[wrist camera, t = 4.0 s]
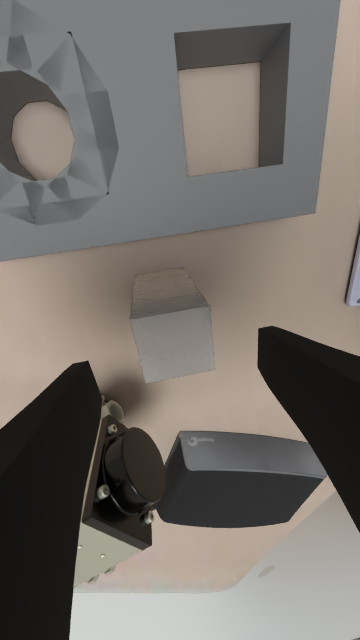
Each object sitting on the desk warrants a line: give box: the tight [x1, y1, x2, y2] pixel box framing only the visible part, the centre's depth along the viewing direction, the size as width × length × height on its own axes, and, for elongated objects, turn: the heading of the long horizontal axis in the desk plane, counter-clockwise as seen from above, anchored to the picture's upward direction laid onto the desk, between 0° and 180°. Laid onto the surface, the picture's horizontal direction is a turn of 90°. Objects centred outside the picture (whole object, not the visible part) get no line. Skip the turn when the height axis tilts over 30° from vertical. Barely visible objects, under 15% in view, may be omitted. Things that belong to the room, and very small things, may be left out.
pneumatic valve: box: [73, 395, 166, 588], centre depth 17 cm, size 6×12×12 cm, turn 125°
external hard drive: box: [156, 431, 327, 528], centre depth 28 cm, size 13×19×4 cm
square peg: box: [130, 268, 215, 383], centre depth 15 cm, size 4×4×8 cm
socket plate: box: [0, 0, 340, 261], centre depth 12 cm, size 20×11×3 cm, turn 97°
